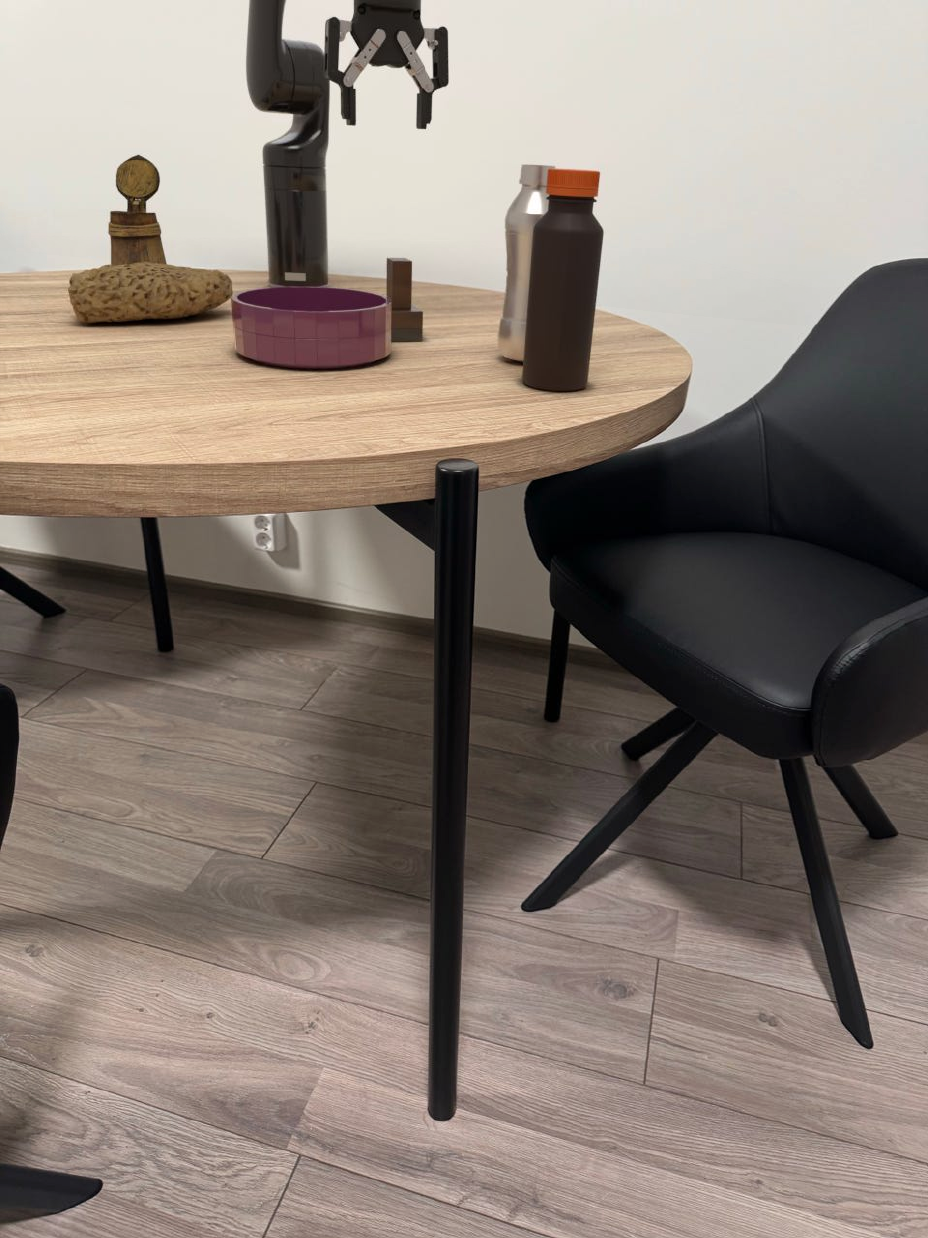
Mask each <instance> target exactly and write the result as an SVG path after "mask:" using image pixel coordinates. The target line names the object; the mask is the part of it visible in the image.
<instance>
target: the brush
mask: <svg viewBox="0 0 928 1238" xmlns="http://www.w3.org/2000/svg"><path fill="white" fill-rule="evenodd" d="M412 287H413V261H412V260H410V259H408V258H406V257H386V296H387V297H388V298H390V299H391V300H392V308H391V343H392V342H394V343H397V342H400V343H401V342H423V338H424V337H423V336H424V334H423V333H424V329H423V328H424V311H423V310H422V309H419V308H418V307H417V306H415V305H414V304H412V300H413V299H412V297H413V295H412V292H413V291H412V289H413V288H412Z"/></svg>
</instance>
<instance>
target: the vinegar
mask: <svg viewBox="0 0 928 1238" xmlns="http://www.w3.org/2000/svg"><path fill="white" fill-rule="evenodd" d="M600 179H601V171H599V170H591V169H590V170H589V169H576V168H575V169H573V168H555V169H552V168H550V169H548V174H547V186H546V194H549V196H548V197H546V199H547V200H549V203H548V211H547V212H546V213H545V214H544V215H543V217H542V218H541V219H540V220H539V221H538V222H537V223H536V224H535V226H534V228H533V239H532V252H531V266H530V279H529V292H528V305H527V319H526V332H525V345H524V358H523V362H522V372H521V373H522V374H521V380H522V382H523V383H524V384H525V385H526V386H528V387H530V388H534V389H538V390H542V391H551V392H573V391H579V390H582V389H584V388H585V387H586V386H587V384H588V382H589V381H588V380H589V372H590V363H591V353H592V345H593V344H592V343H593V335H594V325H595V318H596V317H595V316H596V307H597V299H598V288H599V279H600V273H601V272H600V271H601V261H602V253H603V252H602V251H603V245H604V244H603V242H604V234H605V231H604V228H603V226H602V225H601V223H600V222H599V220H598V219H597V218H596V216H595V214H594V204H595V203H597V201H598V200H597V199H596V198H597V197H598V196H599V188H600Z"/></svg>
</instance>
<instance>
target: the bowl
mask: <svg viewBox="0 0 928 1238" xmlns="http://www.w3.org/2000/svg"><path fill="white" fill-rule="evenodd" d="M230 307H231V320H232V334H233V335H232V336H233V347H234V348H233V349H234V350H235V352H236V353H238V354H239V355H240V356H243V357H245V358H249V359H251V360H252V361H255V362H258V363H259V364H260V363H261V364H265V365H270V366H273V367H280V368H289V369H302V370H303V369H304V370H332V369H333V370H334V369H336V370H337V369H346V368H347V369H348V368H354V367H355V368H356V367H360V366H365V365H369V364H372V363H374V362H376V361H378V360H381V359H384V358H386V357H387V356H389V355H390V354H391V353H392V342H391V308H392V300H391V299H390V298H388V297H387V295H384V294H381V293H377V292H372V291H368V290H363V289H354V288H348V287H347V288H346V287H335V286H329V287H318V286H281V287H269V286H268V287H267V286H266V287H257V288H251V289H243V290H241V291H237V292H235V293H233V294H232V296H231V298H230Z"/></svg>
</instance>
